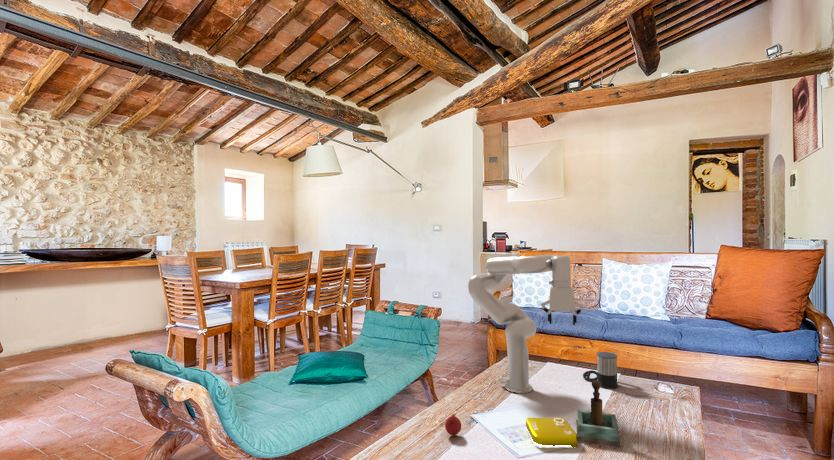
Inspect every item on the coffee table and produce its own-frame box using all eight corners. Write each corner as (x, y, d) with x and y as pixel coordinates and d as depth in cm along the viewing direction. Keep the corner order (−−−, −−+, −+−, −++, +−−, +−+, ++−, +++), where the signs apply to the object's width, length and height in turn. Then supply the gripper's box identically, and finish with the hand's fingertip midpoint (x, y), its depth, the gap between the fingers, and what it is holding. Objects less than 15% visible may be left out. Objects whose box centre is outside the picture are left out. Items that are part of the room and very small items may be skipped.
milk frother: (618, 390, 192) (617, 358, 192) (581, 385, 199) (580, 354, 199) (618, 380, 204) (617, 350, 204) (583, 376, 211) (583, 346, 211)
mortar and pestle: (603, 426, 154) (602, 377, 154) (609, 435, 148) (609, 384, 148) (584, 426, 155) (584, 377, 155) (590, 434, 148) (589, 383, 148)
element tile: (524, 428, 158) (524, 415, 158) (565, 428, 157) (564, 415, 157) (534, 449, 143) (534, 435, 143) (579, 449, 142) (579, 435, 142)
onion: (456, 441, 148) (456, 418, 148) (442, 437, 151) (442, 415, 151) (464, 434, 153) (463, 412, 153) (450, 430, 156) (449, 409, 156)
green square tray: (576, 441, 147) (576, 425, 147) (576, 423, 160) (576, 409, 160) (621, 447, 142) (620, 431, 142) (616, 429, 155) (616, 414, 155)
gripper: (540, 284, 181) (540, 324, 181) (583, 286, 175) (583, 327, 175) (541, 282, 188) (542, 320, 188) (582, 283, 182) (583, 323, 182)
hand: (562, 323), depth 181 cm, fingers open, 9 cm apart
